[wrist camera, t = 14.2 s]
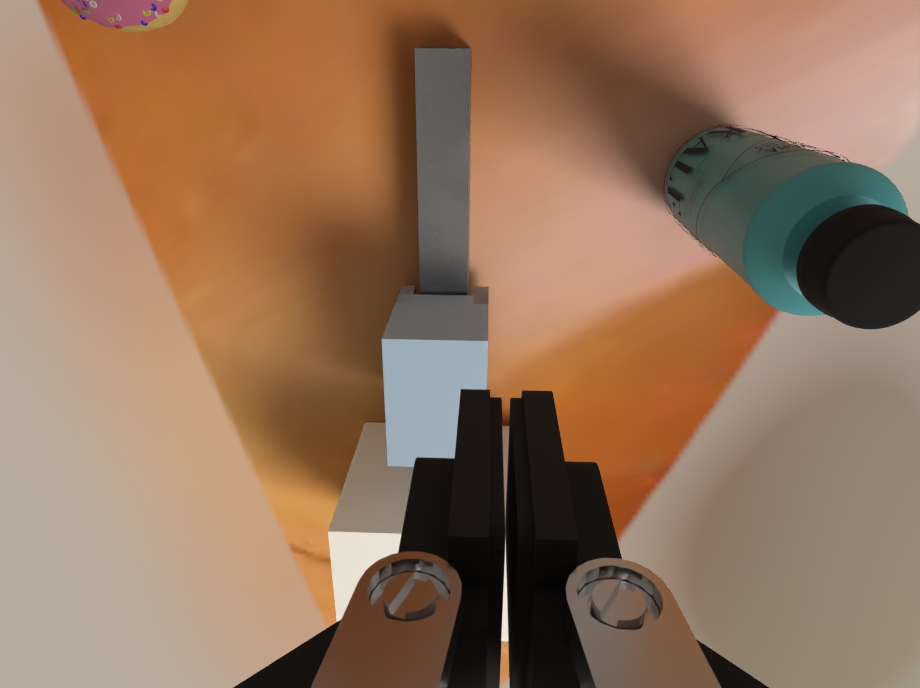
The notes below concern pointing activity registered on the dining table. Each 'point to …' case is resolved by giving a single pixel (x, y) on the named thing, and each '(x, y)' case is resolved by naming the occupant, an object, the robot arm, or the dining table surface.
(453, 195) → the rail
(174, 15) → the cupcake
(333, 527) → the cabinet
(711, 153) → the beverage bottle
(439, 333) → the carriage
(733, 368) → the dining table surface
